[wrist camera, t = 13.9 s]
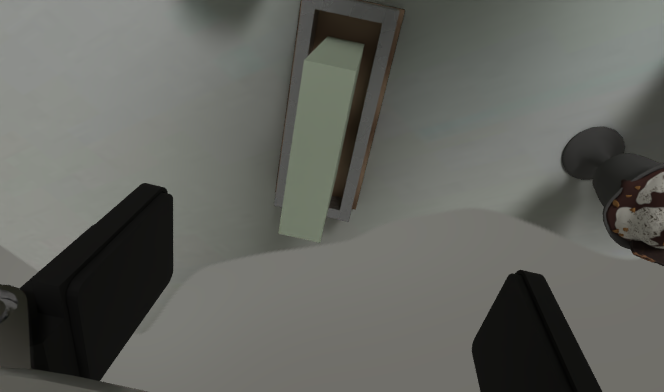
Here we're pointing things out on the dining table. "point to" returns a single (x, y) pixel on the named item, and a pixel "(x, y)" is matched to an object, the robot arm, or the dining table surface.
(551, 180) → the dining table surface
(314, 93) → the pale green rectangular block
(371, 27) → the open rectangular box
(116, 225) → the robot arm
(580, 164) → the sundae
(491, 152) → the dining table surface
